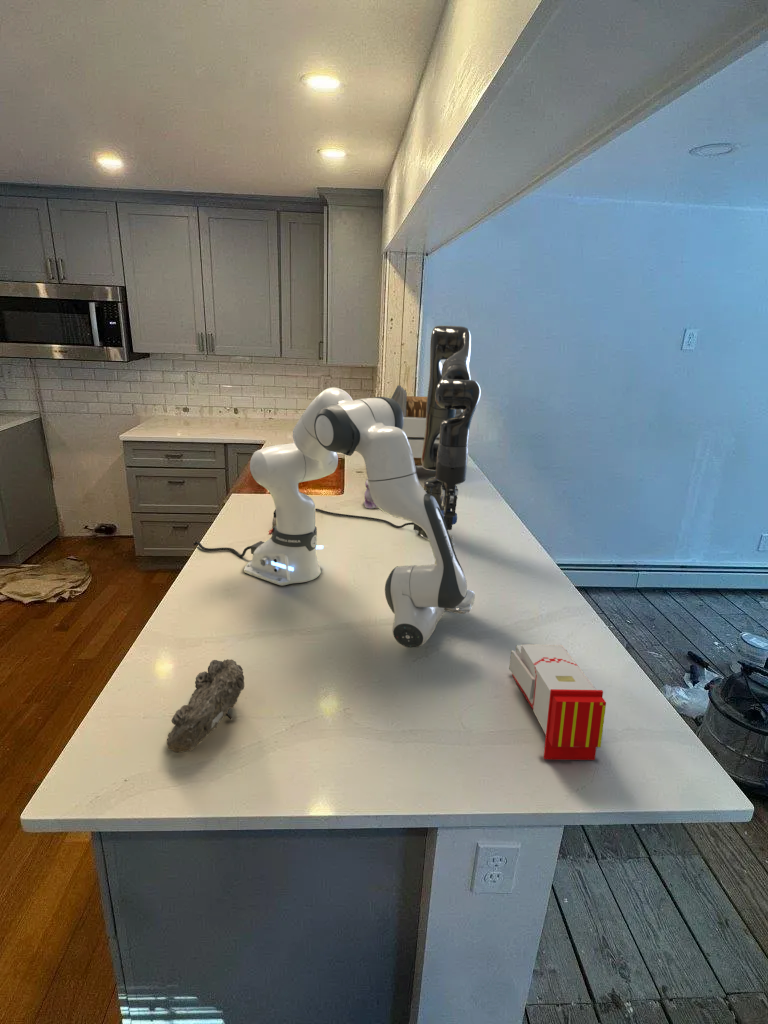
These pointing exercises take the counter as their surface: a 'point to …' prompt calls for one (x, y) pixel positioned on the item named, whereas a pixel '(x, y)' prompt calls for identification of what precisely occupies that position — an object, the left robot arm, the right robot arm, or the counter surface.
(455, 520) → the lid
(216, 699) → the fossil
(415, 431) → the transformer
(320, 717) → the counter surface
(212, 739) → the counter surface
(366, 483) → the figurine
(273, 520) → the figurine character
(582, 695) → the toy
